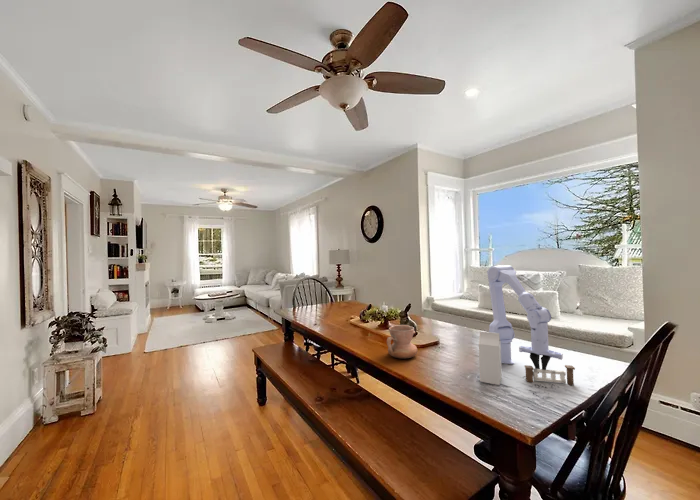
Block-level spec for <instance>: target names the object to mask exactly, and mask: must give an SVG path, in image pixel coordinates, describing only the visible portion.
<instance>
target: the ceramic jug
mask: <svg viewBox="0 0 700 500" xmlns="http://www.w3.org/2000/svg"><path fill="white" fill-rule="evenodd" d="M388 332H389V335H390V336H388V337H387V339H386V345H387V347H388V348H387V353H388V354H389V355H390V356H391V357H393V358H395V359H400V360H401V359H404V360H405V359H411V358H413V357H415V356H416V355H417V354H418V348H417V345H415V344H413V343H412V339H413V337H414V334H416V331H415V327H413V326H410V325H409V324H396V325H392V326H390V327H389V328H388ZM392 341H393V342H392ZM391 343H392V344H391Z"/></svg>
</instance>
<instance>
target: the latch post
mask: <svg viewBox="0 0 700 500" xmlns="http://www.w3.org/2000/svg"><path fill="white" fill-rule="evenodd" d="M524 368H525V381H526V382H527V383H534V372H533V370H534V369H535V368H534V367H533V366H532V365H527V364H526V365H524ZM533 368H534V369H533Z"/></svg>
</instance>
